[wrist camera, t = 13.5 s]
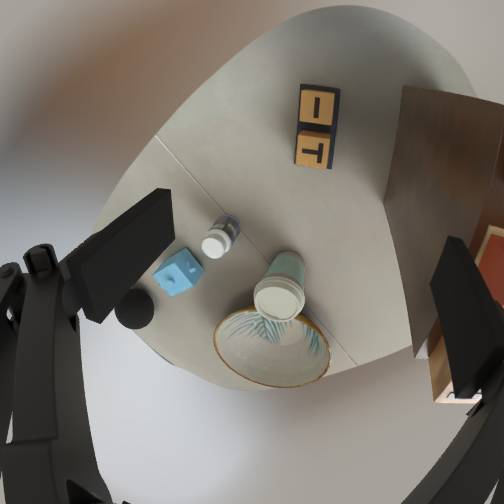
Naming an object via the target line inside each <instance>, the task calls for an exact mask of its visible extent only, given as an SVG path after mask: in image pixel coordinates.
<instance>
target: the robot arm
mask: <svg viewBox="0 0 504 504" xmlns="http://www.w3.org/2000/svg"><path fill="white" fill-rule="evenodd" d="M174 239H175V233H174V222H173V211H172V199H171V189H161V188H157V189H155V190H154V191H153V192H151V193H150V194H149V195H147V196H146V197H144V198H143V199H142V200H140V201H139V202H138V203H136V204H135V205H134V206H132V207H131V208H130V209H128V210H127V211H126V212H124V213H123V214H122V215H120V216H119V217H118V218H117V219H115V220H114V221H113V222H111V223H110V224H109V225H108V226H106V227H105V228H104V229H103V230H101V231H99V232H97V233H95V234H93V235H91V236H90V237H89V238H87V239H86V240H85V241H84V243H81V244H80V245H79V246H78V248H75V249H74V250H73V251H72V252H71V253H70V254H68V255H67V256H66V257H65V258H64V259H62V260H61V261H60V262H59V263H58V261H57V258H56V254H55V252H54V248H53V246H52V245H51V244H40V245H37V246H34V247H33V248H31V249H29V250H28V251H27V252H26V253H25V254H24V256H23V259H24V261H25V264H26V267H27V269H28V272H29V273H22V271H21V268H20V266H19V264H18V263H15V262H12V263H7V264H5V265H2V267H0V478H1V471H2V476H3V486H4V494H5V501H6V504H114V503H113V502H112V498H111V495H110V493H109V490H108V488H107V486H106V484H105V482H104V480H103V479H102V477H101V475H100V473H99V470H98V466H97V461H96V457H95V452H94V448H93V443H92V437H91V432H90V426H89V420H88V413H87V406H86V399H85V391H84V382H83V373H82V362H81V348H80V347H81V346H80V326H79V317H78V315H77V312H78V311H79V310H80V309H81V308H82V309H83V311H84V314H85V316H86V318H87V319H89V320H91V321H94V322H96V323H99V324H101V323H102V322H103V320H104V319H105V318H106V317H107V316H108V315H109V313H110V312H111V311H112V310H113V309H114V307H115V306H116V305H117V304H118V303H119V301H120V300H121V299H122V298H123V297H124V296H125V294H126V293H127V292H128V291H129V290H130V289H131V287H132V286H133V285H134V284H135V283H136V282H137V281H138V279H139V278H140V277H141V276H142V275H143V274H144V273H145V271H146V270H147V269H148V268H149V267H150V266H151V265H152V264H153V262H154V261H155V260H156V259H157V258H158V257H159V256H160V255H161V254H162V252H163V251H164V250H165V249H166V248H167V247H168V246H169V245H170V244H171V243H172V242H173V240H174ZM429 285H430V288H431V292H432V295H433V299H434V302H435V306H436V310H437V313H438V317H439V321H440V325H441V329H442V334H443V338H444V342H445V347H446V352H447V356H448V362H449V367H450V372H451V378H452V384H453V390H454V397H455V399H472V398H473V396H474V395H475V394H476V393H477V392H478V391H479V390H481V395H482V398H481V399H480V400H479V401H478V402H477V403H476V405H475V406H474V407H473V408H472V409H471V410H470V411H469V412H468V413H467V414H466V415H469V417H468V418H467V420H466V421H465V423H464V425H463V426H462V428H461V429H460V431H459V432H458V434H457V435H456V437H455V438H454V439H453V441H452V442H451V444H450V445H449V447H448V448H447V449H446V451H445V452H444V453H443V454H442V456H441V458H439V460H438V461H437V462H436V464H435V465H434V466H433V467H432V469H431V470H430V471H429V472H428V474H427V475H426V476H425V477H424V479H423V480H422V481H421V482H420V483H419V484H418V485H417V486H416V488H415V489H414V490H413V491H412V492H411V493H410V494H409V496H408V497H407V498H406V499H405V500H404V501H403V502H402V503H401V504H484V503H485V501H486V500H487V498H488V497H489V495H490V493H491V491H492V490H493V488H494V486H495V485H496V483H497V481H498V479H499V481H498V483H497V487H496V489H495V492H494V495H493V498H492V500H491V503H490V504H504V308H503V307H502V305H501V304H500V303H499V302H498V301H497V300H494V299H493V297H492V295H491V293H490V291H489V289H488V287H487V285H486V283H485V281H484V279H483V277H482V275H481V273H480V271H479V269H478V267H477V265H476V263H475V261H474V259H473V258H472V256H471V254H470V252H469V250H468V249H467V247H466V245H465V243H464V242H463V240H462V238H458V237H453V236H449V235H448V237H447V240H446V242H445V245H444V248H443V251H442V253H441V256H440V259H439V261H438V264H437V266H436V269H435V272H434V274H433V276H432V279H431V281H430V284H429ZM8 309H9V311H10V313H11V314H12V317H11V319H10V320H9V319H8V317H7V315H6V314H7V310H8ZM12 411H13V413H12ZM11 415H12V420H13V423H12V424H13V438H12V441H11V443H7V444H6V440H7V435H8V429H9V424H10V420H11ZM122 504H130V503H128V502H125V501H123V503H122Z"/></svg>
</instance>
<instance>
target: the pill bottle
mask: <svg viewBox="0 0 504 504" xmlns="http://www.w3.org/2000/svg"><path fill="white" fill-rule="evenodd" d="M239 233H240V224H239V222H238V220H237V219H236V218H234V217H233V216H230V215H224V216H221V217H220V218H219V219H218V220H217V221H216V222H215V224H214V225H213V226H212V227H211V228H210V230H209V231H208V232H207V233H206V235H205V239H204V240H203V242H202V250H203V252H204V253H205V254H206V255H207V256H208V257H210V258H214V259H216V258H220V257H221V256H222V255H223V254H224V253H225V252H227V251H228V250H229V248H230V247H231V245H232V244H233V242H234V241H235V239H236V237H237V236H238V234H239Z"/></svg>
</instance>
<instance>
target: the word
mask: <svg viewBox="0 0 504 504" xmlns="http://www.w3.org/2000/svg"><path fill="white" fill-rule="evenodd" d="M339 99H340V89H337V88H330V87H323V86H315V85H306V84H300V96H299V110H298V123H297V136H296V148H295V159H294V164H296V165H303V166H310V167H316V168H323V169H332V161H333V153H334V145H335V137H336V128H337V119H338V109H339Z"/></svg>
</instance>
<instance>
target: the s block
mask: <svg viewBox="0 0 504 504" xmlns="http://www.w3.org/2000/svg"><path fill="white" fill-rule="evenodd" d="M478 269H479V271H480V273H481V275H482V277H483V279H484V281H485V283H486V285H487V287H488V289H489V291H490V293H491V295H492V297H493V299H494V300H497V301H498V302H499V303H500V304H501V305H502V307H503V308H504V237H501V236H498V235H494V234H491V236H490V239H489V241H488V244H487V246H486V249H485V251H484V253H483V256H482V258H481V261H480V263H479V265H478Z"/></svg>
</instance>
